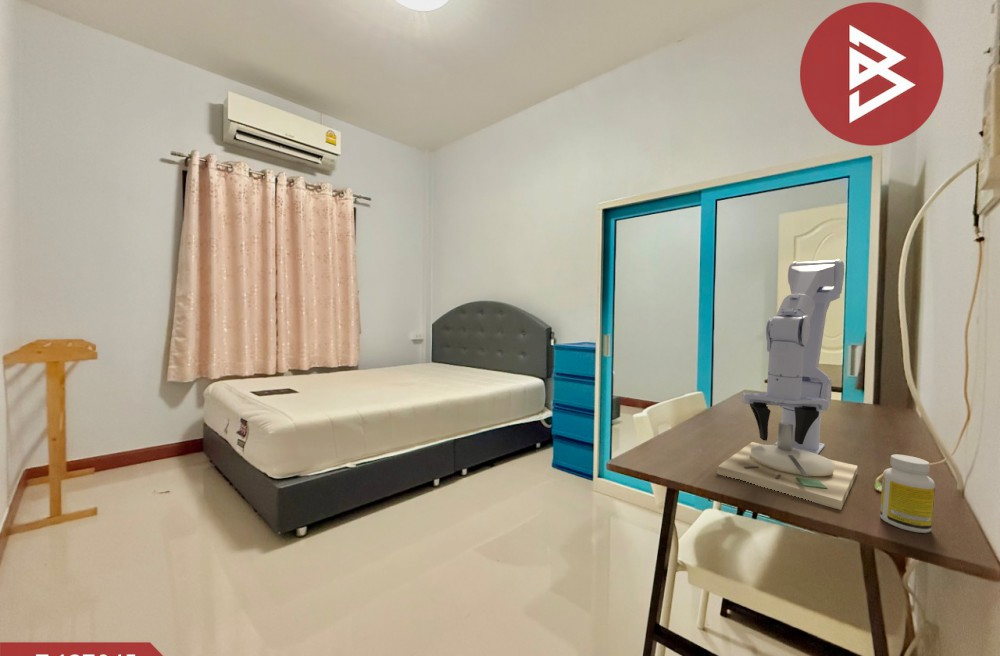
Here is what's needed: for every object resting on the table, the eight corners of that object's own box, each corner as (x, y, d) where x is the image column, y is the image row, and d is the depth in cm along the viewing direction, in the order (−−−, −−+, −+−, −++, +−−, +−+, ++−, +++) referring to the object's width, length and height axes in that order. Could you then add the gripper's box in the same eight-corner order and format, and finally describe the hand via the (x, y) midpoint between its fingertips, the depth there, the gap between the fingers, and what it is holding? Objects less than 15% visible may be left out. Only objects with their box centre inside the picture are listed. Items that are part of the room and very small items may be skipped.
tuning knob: (855, 492, 65) (857, 454, 65) (760, 476, 70) (762, 441, 70) (821, 457, 81) (823, 426, 80) (746, 446, 86) (747, 418, 86)
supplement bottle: (942, 536, 56) (948, 467, 55) (897, 531, 57) (902, 464, 57) (911, 517, 61) (916, 454, 61) (870, 512, 62) (874, 450, 62)
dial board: (751, 448, 91) (752, 441, 91) (857, 473, 78) (857, 464, 78) (717, 473, 76) (717, 465, 76) (841, 510, 63) (841, 499, 63)
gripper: (750, 375, 80) (746, 442, 80) (837, 381, 76) (833, 451, 76) (740, 370, 87) (736, 432, 87) (819, 375, 82) (815, 440, 83)
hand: (780, 440), depth 82 cm, fingers open, 6 cm apart
